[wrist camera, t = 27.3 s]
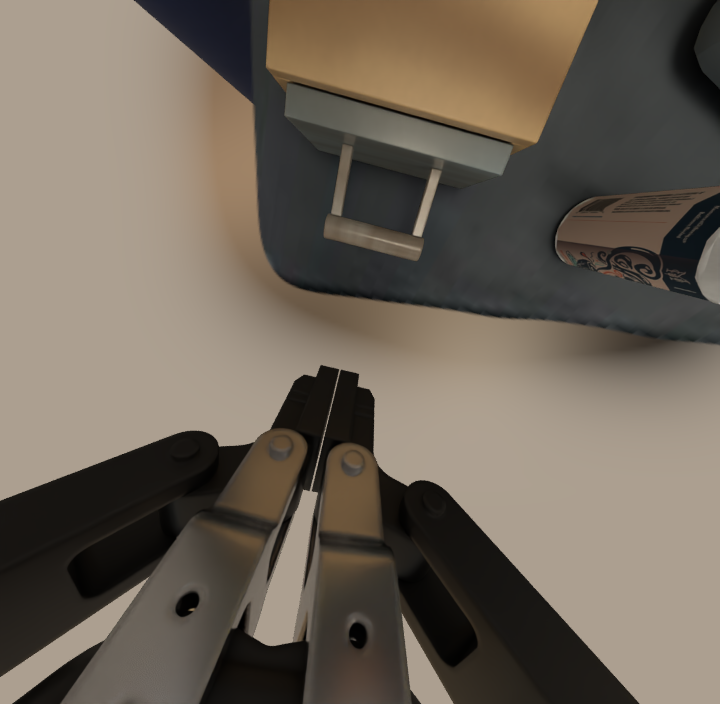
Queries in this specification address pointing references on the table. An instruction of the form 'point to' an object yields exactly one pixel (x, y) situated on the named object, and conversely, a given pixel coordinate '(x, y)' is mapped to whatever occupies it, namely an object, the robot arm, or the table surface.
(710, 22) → the toaster
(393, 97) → the cabinet
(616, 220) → the beer can
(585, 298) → the table surface
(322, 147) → the drawer
